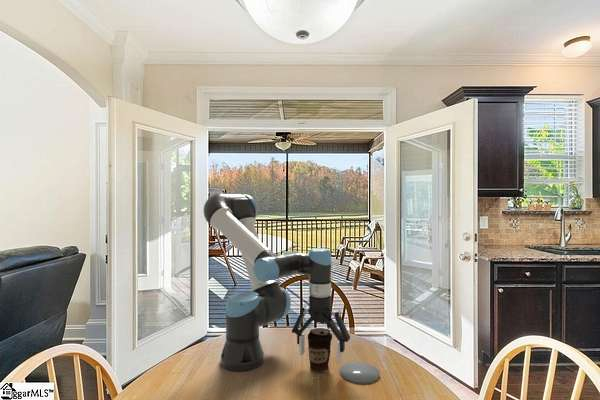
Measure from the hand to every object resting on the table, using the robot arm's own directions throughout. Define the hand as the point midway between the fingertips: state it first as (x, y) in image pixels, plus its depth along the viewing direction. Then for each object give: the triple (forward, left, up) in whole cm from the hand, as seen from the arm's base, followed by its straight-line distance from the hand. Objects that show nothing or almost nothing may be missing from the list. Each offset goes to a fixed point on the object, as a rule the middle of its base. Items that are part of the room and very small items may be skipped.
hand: (320, 357), depth 118 cm
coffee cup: (0, 0, -4) cm, 4 cm away
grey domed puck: (+13, +3, -4) cm, 14 cm away
